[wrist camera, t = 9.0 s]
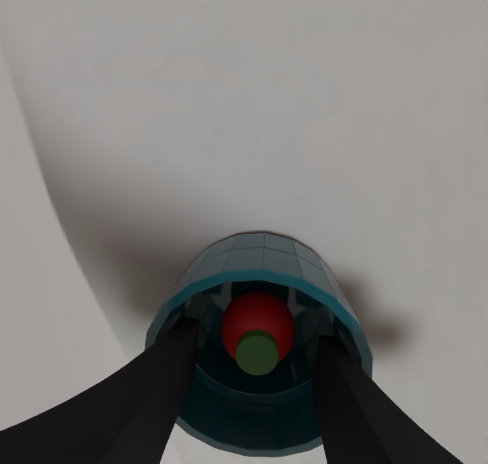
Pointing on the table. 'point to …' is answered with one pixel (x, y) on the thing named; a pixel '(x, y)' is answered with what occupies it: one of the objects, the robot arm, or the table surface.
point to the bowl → (286, 371)
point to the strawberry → (257, 331)
